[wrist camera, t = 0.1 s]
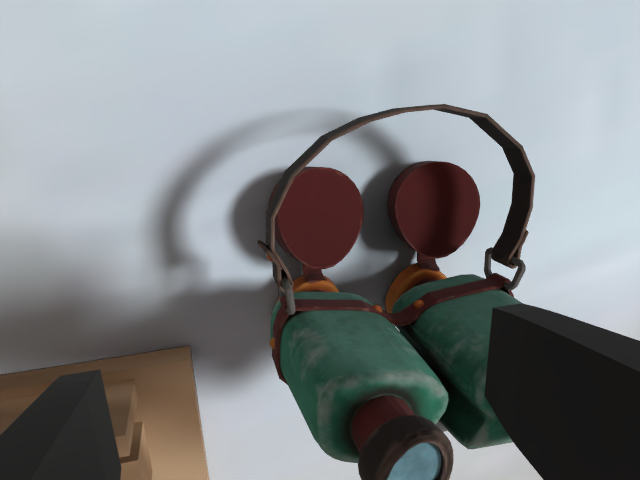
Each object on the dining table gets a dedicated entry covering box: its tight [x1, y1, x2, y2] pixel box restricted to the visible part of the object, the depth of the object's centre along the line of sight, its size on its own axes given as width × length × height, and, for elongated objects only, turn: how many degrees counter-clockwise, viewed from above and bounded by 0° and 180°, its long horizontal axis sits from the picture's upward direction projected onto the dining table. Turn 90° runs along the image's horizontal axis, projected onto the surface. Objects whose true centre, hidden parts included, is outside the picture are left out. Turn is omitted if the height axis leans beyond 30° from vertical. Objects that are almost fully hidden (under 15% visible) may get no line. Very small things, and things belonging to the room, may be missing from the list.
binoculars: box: [257, 104, 535, 480], centre depth 15 cm, size 9×11×10 cm
